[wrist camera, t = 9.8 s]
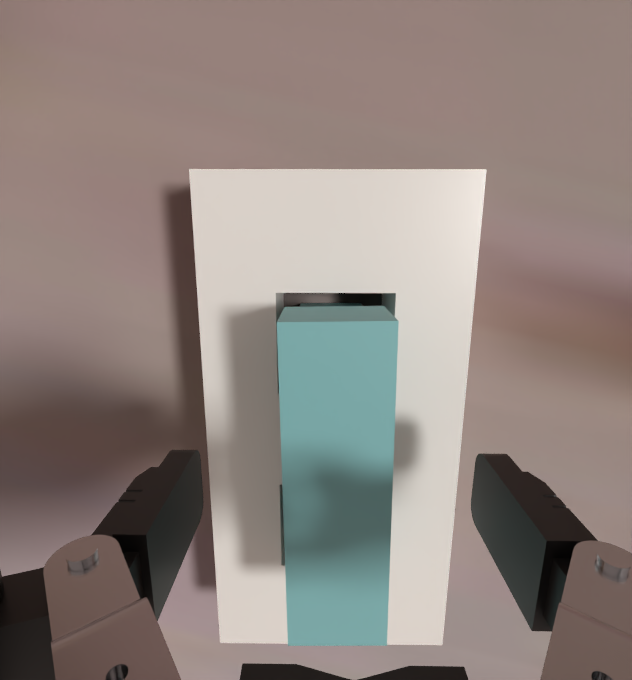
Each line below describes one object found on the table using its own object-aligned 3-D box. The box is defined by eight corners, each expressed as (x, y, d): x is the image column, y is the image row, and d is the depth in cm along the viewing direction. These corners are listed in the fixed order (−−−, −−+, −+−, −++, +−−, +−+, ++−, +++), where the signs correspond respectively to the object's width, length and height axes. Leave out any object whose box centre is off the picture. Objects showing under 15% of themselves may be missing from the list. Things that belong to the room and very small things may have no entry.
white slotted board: (213, 182, 15) (189, 169, 13) (454, 182, 15) (486, 169, 12) (234, 583, 20) (220, 642, 17) (424, 585, 20) (442, 645, 17)
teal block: (293, 290, 16) (276, 322, 10) (368, 290, 16) (398, 321, 10) (298, 511, 19) (288, 645, 13) (364, 510, 19) (387, 645, 13)
